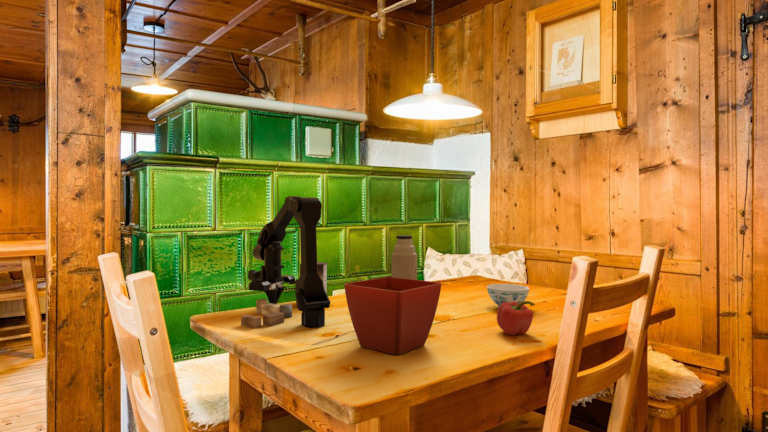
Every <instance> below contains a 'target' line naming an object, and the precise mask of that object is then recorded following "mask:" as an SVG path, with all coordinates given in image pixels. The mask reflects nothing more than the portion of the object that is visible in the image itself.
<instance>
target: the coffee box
mask: <svg viewBox="0 0 768 432" xmlns="http://www.w3.org/2000/svg"><path fill="white" fill-rule="evenodd" d="M317 268H318V274H319V276H320V278H321V279H322V281H323V285H324V290H325V292H326V293H327V289H328V288H327V286H328V285H327V282H328V281H327V280H328V279H327V278H328V276H327V273H328V272H327V271H328V262H325V261H324V262H319V261H317ZM300 275H301V263H300V264H299V276H300ZM312 303H316V302H312ZM307 304H309V303H307Z"/></svg>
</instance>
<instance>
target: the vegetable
mask: <svg viewBox="0 0 768 432" xmlns="http://www.w3.org/2000/svg"><path fill="white" fill-rule="evenodd" d="M527 305H530V306H531V307H532V306H535V305H536V303H534V302H532V301H530V300H525V301H524V302H521V303H519V304H518V303H517V302H511V303H509V302H507V303H502V304H501V305H500V306H499V308H498V307H497V308H498V309H497V312H496V322H497V325H498V326H499V328H500V329H501V330H502V332H503V333H504V334H506V335H509V336H516V335H524V334H526V333H527V332H528V331H529V329H530V328H531V325H532V322H533V318H534V313H533V311H532V309H529V307H528V306H527Z"/></svg>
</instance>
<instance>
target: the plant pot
mask: <svg viewBox="0 0 768 432" xmlns="http://www.w3.org/2000/svg"><path fill="white" fill-rule="evenodd" d="M343 288H344V292H345V297H346V304H347V308H348V313H349V315H350V320H351V323H352V327H353V329H354V333H355V335H356V338H357V340H358V342H359V343H358V344H359V345H360V347H362V348H366V349H370V350H375V351H378V352H382V353H385V354H391V355H395V356H397V355H402V354H403V353H406V352H410V351H412V350H415V349H419V348H420V347H424V346H425V344H426V342H427V340H428V337H429V335H430V331H431V329H432V326H433V323H434V320H435V316H436V313H437V309H438V306H439V305H438V304H439V301H440V295H441V289H442V283H441V282H437V281H436V282H435V281H430V280H422V279H417V280H414V279H405V278H395V277H392V276H384V277H377V278H372V279H366V280H358V281H352V282H346V283H344V287H343Z"/></svg>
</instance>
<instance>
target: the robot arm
mask: <svg viewBox="0 0 768 432" xmlns="http://www.w3.org/2000/svg"><path fill="white" fill-rule="evenodd" d="M322 209H323V204H322V201H321V200H320V199H319V198H318V197H314V196H313V197H312V196H309V197H307V196H305V197H304V196H298V195H297V196H296V195H288V196H286V197H285V198H284V202H283V205H282V206H281V207H280V209H279V211H278V212H277V214H276V215H275V217H274V219H273V220H271V221H269V222H267V223H266V224H265V225H264V226H262V228H261V230H260V232H259V235H258V237H257V240H256V245H255V246H254V248H253V249H252V256H253V258H254V259H255V260H257V261H263V262H264V263H263V265H261V267H260V270H257V271H256V270H255V269H251V270H249V271H247V279H248V280H249V281H250V282H249V283H248V290H249V291H253V292H254V291H255V292H263V293H264V294H265V295H266V297H267V298H266V299H268V303H271V304H277V303H278V302H279V299H280V297H281V296H282V295H283V292H284V290H285V289H286V286H285V285H283V284H288V285H294V287H295V289H294V290H295V291H294V296H295V303H296V308H297V309H298V311H299V312H301V318H300V320H301V322H300V323H301V324H300V325H301V326H303V327H304V328H307V329H319V328H323V327H326V320H325V319H326V317H325V316H326V314H325V313H326V312H325V311H326V309H330V306H331V300H330V298H329V296H328V294H327V291H326V292H325V290H324V285H323V281H322V279H321V278H320V276H319V274H318V268H317V262H318V245H317V243H318V242H317V226H318V223H319V221H320V219H321V217H322ZM293 219H294V220H295V221H296V223H297V224H298V226H299V234H300V236H299V239H300V240H299V241H300V264H301V275H300V274H299V278H296V277H295V276H294V275H289V274H282V269H284V268H285V265H284V264H282V250H284V246H283V245H282V244H281V243H282V242H284V240H285V238H286V236H287V231H286V229H287V227H288V226H289V224H290V223H291V221H292V220H293ZM312 302H316V303H312ZM307 303H309V304H307Z"/></svg>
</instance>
